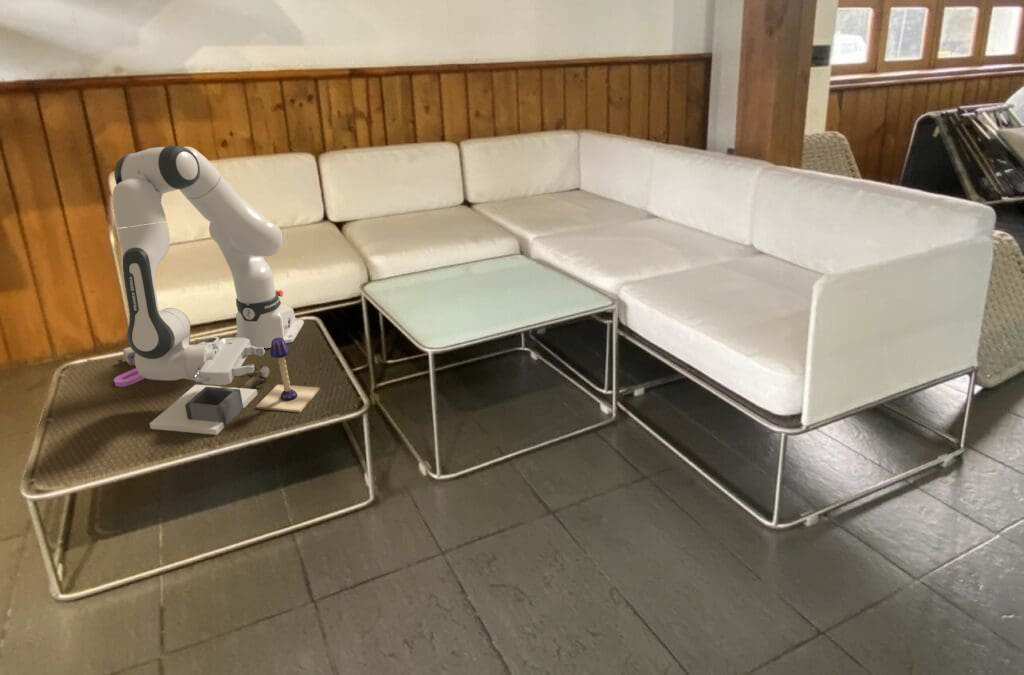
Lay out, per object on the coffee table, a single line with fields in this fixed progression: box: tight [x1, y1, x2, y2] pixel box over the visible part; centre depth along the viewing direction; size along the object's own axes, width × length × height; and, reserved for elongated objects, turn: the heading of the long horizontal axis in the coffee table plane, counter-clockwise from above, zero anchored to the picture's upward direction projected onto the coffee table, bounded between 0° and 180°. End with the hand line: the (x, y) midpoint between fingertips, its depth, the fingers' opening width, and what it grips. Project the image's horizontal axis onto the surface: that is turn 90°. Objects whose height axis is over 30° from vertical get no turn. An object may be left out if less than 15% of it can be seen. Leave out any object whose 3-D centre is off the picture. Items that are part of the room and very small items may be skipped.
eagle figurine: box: [234, 361, 270, 389], centre depth 200 cm, size 8×7×9 cm
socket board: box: [149, 384, 258, 436], centre depth 188 cm, size 20×18×6 cm
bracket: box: [113, 367, 146, 388], centre depth 206 cm, size 13×6×7 cm, turn 148°
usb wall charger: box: [122, 346, 135, 367], centre depth 216 cm, size 4×7×4 cm, turn 40°
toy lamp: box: [270, 338, 297, 401], centre depth 190 cm, size 5×5×17 cm
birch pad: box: [255, 384, 320, 413], centre depth 194 cm, size 12×12×1 cm
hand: (259, 359), depth 189 cm, fingers open, 8 cm apart
